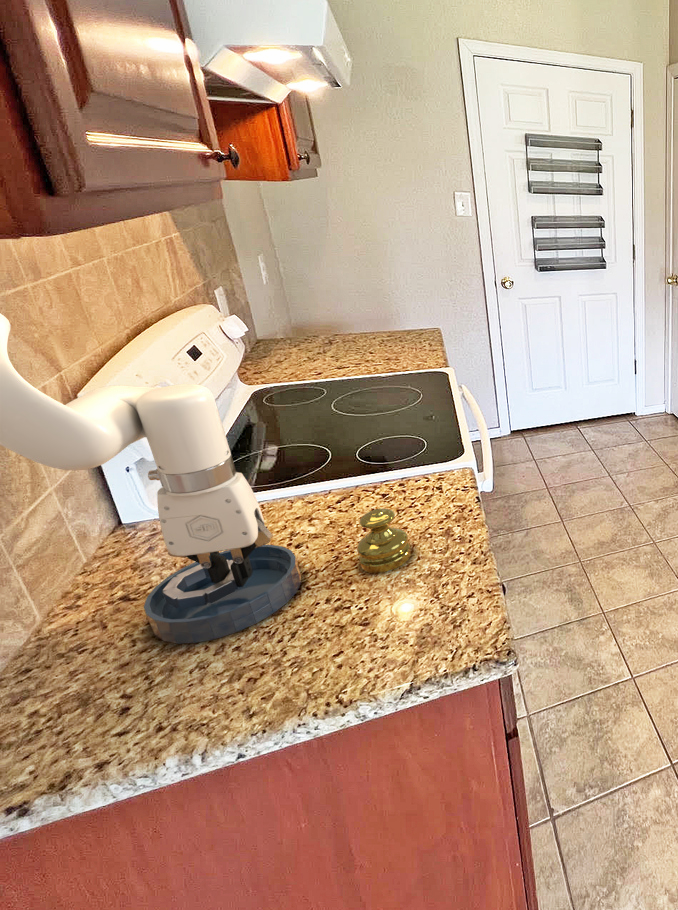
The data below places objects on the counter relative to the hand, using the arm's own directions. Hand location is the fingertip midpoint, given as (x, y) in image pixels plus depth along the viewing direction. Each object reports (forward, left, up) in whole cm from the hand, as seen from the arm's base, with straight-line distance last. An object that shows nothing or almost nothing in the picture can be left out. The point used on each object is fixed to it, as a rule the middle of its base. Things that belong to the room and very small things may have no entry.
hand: (234, 582), depth 85 cm
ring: (-3, 0, 0) cm, 3 cm away
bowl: (-1, 0, -4) cm, 4 cm away
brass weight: (+19, +4, -4) cm, 20 cm away
